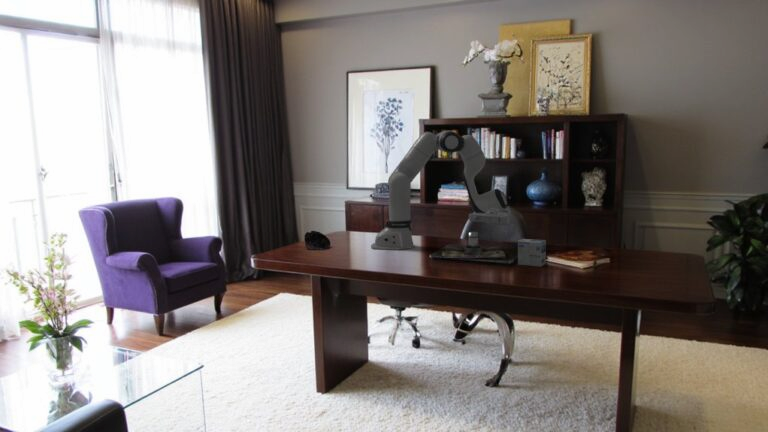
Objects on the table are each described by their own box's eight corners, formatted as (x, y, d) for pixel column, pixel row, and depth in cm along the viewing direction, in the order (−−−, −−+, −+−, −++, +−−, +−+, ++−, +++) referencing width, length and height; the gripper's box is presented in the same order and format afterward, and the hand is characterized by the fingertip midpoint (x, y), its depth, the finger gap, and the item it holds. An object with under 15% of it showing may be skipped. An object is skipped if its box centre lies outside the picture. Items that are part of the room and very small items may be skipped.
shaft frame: (442, 258, 260) (441, 247, 260) (442, 254, 270) (442, 243, 270) (505, 258, 257) (505, 247, 256) (503, 254, 266) (503, 243, 266)
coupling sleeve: (468, 254, 261) (468, 233, 260) (468, 252, 266) (468, 231, 264) (478, 254, 261) (478, 233, 259) (477, 252, 265) (477, 231, 264)
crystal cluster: (335, 248, 295) (335, 229, 295) (317, 250, 285) (316, 231, 285) (318, 248, 304) (317, 229, 304) (299, 249, 294) (298, 231, 293)
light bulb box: (546, 264, 244) (546, 239, 243) (541, 267, 239) (541, 242, 237) (522, 261, 250) (522, 238, 249) (517, 264, 245) (517, 240, 243)
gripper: (475, 209, 291) (463, 212, 279) (512, 212, 280) (502, 215, 268) (474, 221, 291) (463, 224, 280) (512, 224, 281) (502, 228, 269)
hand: (483, 220), depth 274 cm, fingers open, 8 cm apart
